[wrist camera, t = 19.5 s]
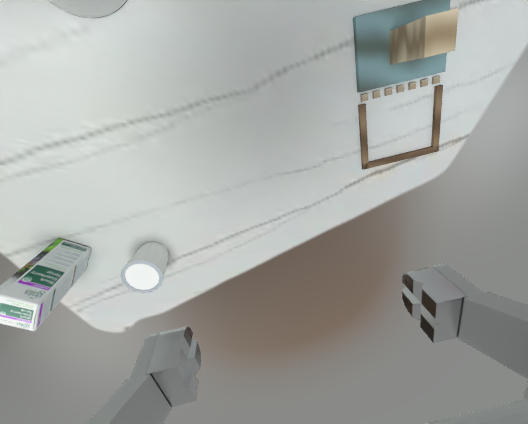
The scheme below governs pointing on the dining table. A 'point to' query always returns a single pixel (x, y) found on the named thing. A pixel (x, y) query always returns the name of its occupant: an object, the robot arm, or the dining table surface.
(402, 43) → the birch stub block
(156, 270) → the white cylinder
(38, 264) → the syrup box
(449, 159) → the dining table surface
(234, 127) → the dining table surface
